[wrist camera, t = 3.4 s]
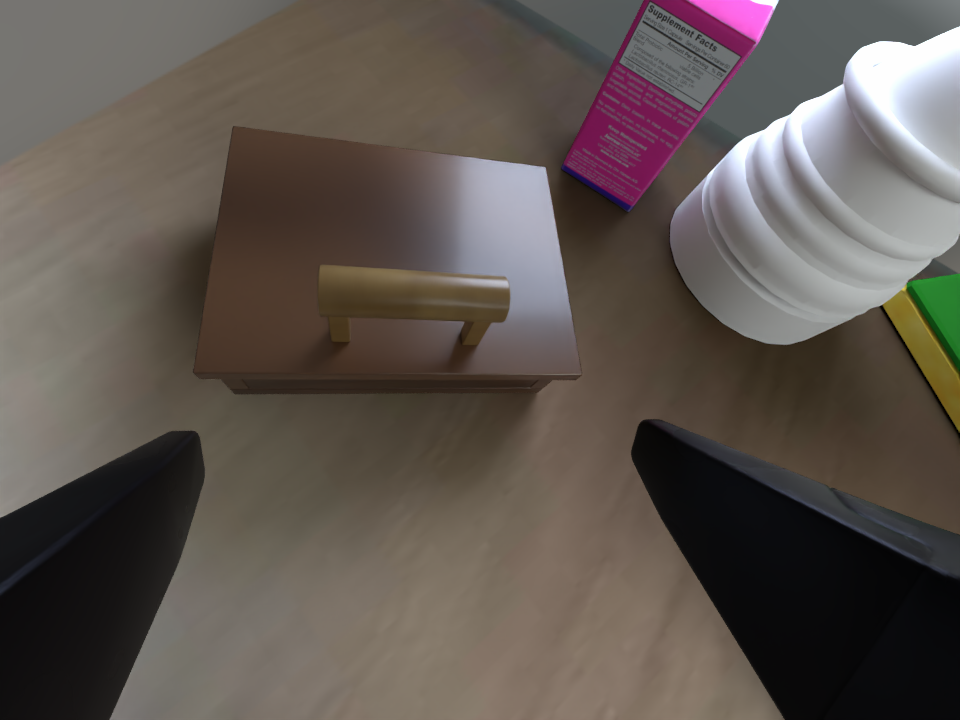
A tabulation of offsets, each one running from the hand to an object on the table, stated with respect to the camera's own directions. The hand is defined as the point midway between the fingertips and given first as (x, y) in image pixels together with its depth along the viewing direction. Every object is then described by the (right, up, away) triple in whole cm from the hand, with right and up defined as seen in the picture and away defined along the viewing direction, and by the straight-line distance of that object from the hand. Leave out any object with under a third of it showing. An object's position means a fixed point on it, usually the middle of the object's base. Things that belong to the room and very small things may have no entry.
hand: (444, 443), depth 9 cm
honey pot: (+20, +9, +22) cm, 31 cm away
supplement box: (+10, +15, +22) cm, 29 cm away
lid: (-3, +6, +10) cm, 12 cm away
